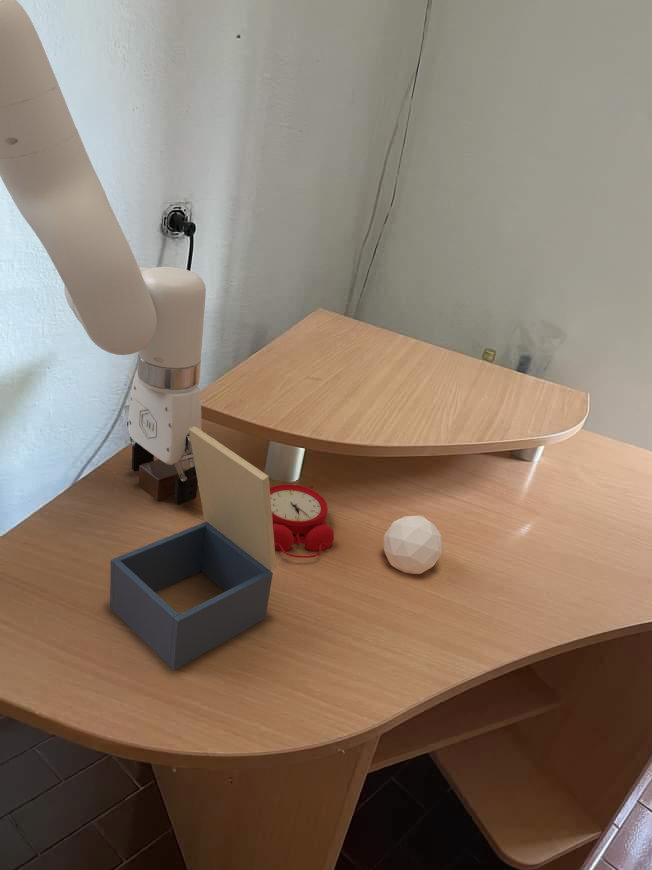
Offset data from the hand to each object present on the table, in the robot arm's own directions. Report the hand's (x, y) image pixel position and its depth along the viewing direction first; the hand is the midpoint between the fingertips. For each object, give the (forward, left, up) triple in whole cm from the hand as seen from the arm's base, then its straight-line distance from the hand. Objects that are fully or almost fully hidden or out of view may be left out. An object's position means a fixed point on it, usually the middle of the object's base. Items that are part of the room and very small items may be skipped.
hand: (163, 484), depth 96 cm
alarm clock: (+17, +9, -2) cm, 19 cm away
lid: (+22, -8, +13) cm, 27 cm away
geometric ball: (+31, +17, -2) cm, 35 cm away
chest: (+22, -12, -2) cm, 25 cm away
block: (0, 0, -2) cm, 2 cm away
